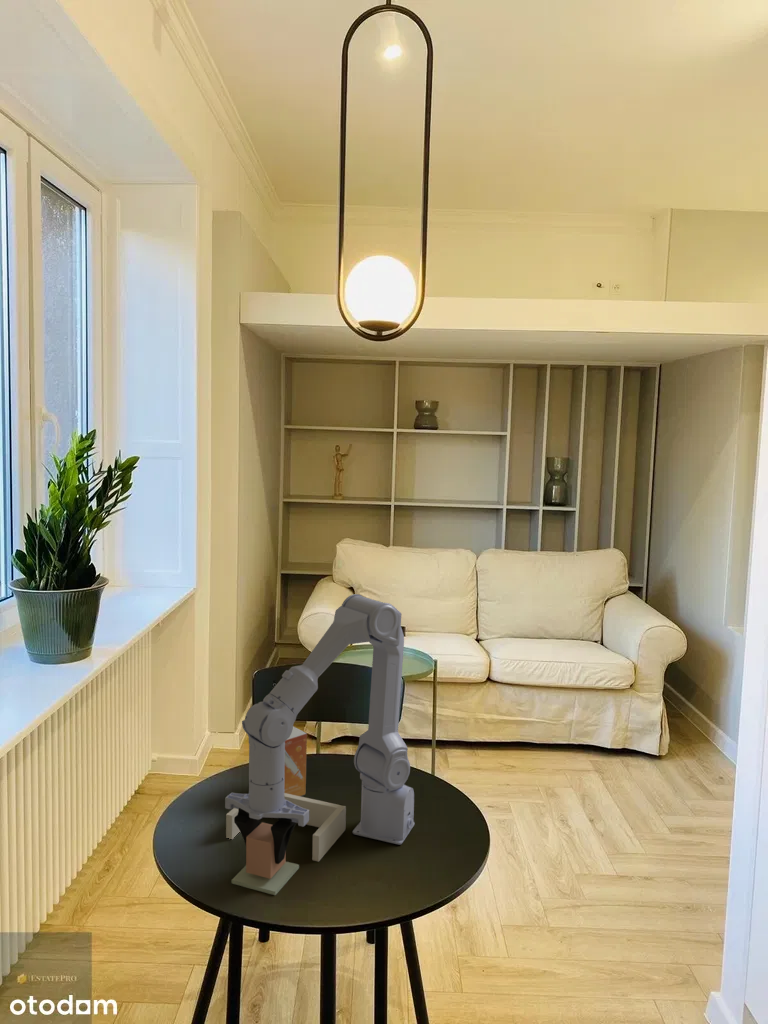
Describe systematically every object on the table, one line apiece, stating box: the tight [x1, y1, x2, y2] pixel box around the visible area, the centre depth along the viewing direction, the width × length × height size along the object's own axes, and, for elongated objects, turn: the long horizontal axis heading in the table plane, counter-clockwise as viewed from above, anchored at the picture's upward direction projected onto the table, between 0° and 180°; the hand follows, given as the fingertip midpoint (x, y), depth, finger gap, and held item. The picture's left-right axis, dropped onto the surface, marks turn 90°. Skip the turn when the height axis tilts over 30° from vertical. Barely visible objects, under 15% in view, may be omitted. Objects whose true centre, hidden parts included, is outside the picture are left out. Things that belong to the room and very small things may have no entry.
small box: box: [284, 725, 308, 797], centre depth 146 cm, size 8×6×13 cm
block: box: [245, 821, 287, 879], centre depth 119 cm, size 4×5×6 cm
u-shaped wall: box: [225, 793, 347, 862], centre depth 132 cm, size 18×11×4 cm, turn 69°
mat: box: [231, 861, 300, 896], centre depth 120 cm, size 8×8×1 cm
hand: (266, 857), depth 119 cm, fingers closed on block, 4 cm apart
